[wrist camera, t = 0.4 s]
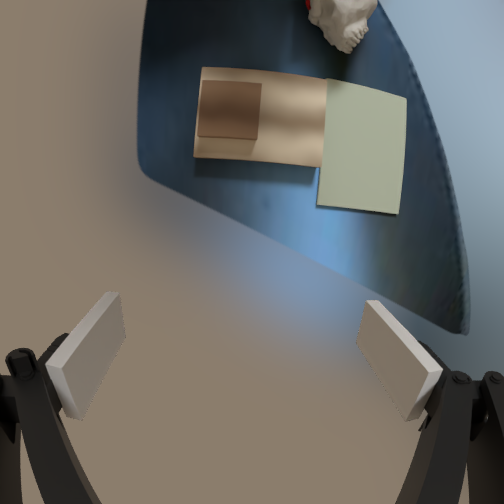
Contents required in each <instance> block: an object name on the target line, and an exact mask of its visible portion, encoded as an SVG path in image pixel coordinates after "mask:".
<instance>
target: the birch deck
mask: <svg viewBox="0 0 504 504" xmlns="http://www.w3.org/2000/svg"><path fill="white" fill-rule="evenodd" d="M202 80H219V81H238V82H252V83H262V89H261V102H260V114H259V126H258V139H257V140H256V141H255V140H242V139H226V138H204V137H198V136H197V130H198V119H199V108H200V98H201V89H202ZM326 96H327V80H325V79H320V78H314V77H309V76H302V75H296V74H289V73H281V72H273V71H264V70H253V69H240V68H221V67H202V73H201V81H200V90H199V99H198V109H197V120H196V131H195V143H194V156H193V157H195V158H212V159H230V160H245V161H258V162H270V163H281V164H290V165H299V166H308V167H316V168H317V167H322V157H323V144H324V130H325V115H326Z"/></svg>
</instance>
